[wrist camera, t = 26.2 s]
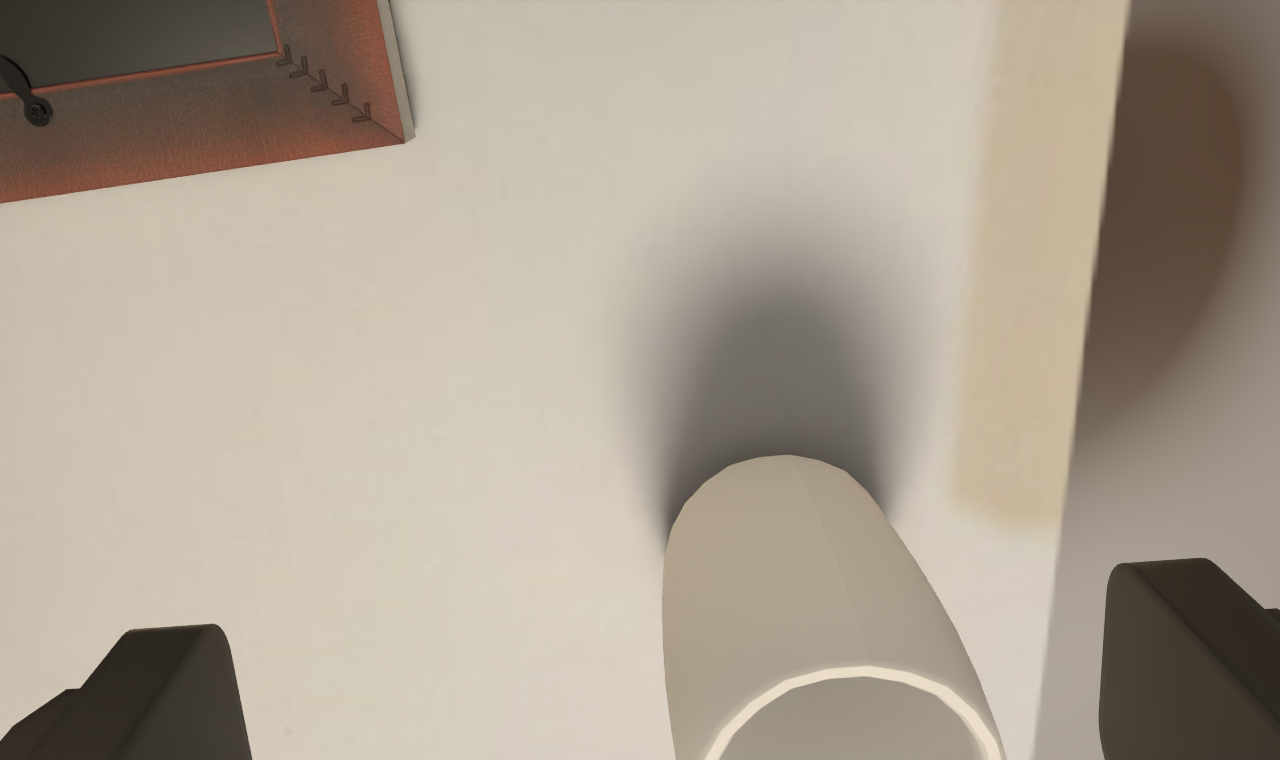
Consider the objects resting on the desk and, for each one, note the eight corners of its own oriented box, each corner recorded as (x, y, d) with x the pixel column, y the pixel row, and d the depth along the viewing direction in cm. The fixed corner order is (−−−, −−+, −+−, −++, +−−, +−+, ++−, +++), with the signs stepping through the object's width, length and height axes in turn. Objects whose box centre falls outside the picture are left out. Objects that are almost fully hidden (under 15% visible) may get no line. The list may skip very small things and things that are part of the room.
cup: (647, 642, 42) (662, 938, 29) (662, 427, 40) (686, 640, 26) (876, 651, 42) (997, 949, 29) (905, 439, 40) (1054, 656, 26)
